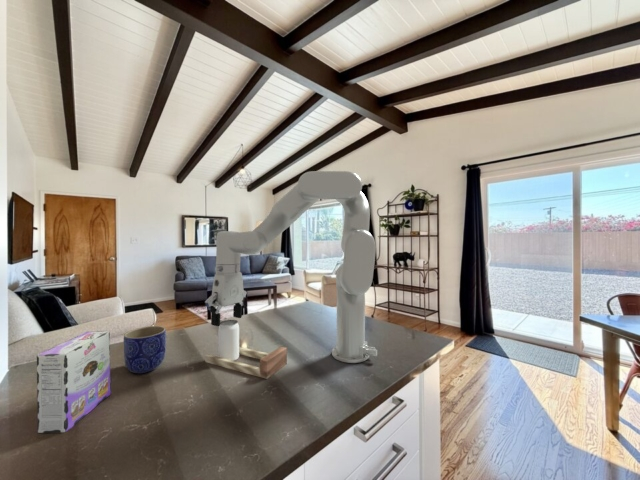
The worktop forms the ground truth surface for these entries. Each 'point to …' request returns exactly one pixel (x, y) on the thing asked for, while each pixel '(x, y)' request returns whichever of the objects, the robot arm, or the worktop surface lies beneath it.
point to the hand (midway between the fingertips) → (227, 321)
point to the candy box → (72, 380)
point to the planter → (144, 348)
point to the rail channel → (267, 366)
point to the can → (228, 340)
